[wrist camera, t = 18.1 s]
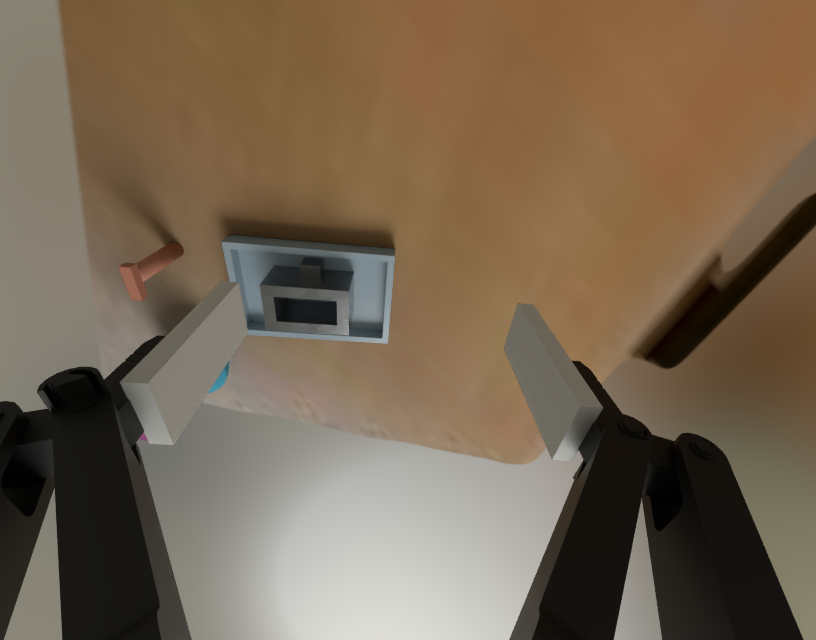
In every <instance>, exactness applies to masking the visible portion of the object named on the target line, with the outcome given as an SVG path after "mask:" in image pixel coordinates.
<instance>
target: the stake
mask: <svg viewBox="0 0 816 640" xmlns="http://www.w3.org/2000/svg"><path fill="white" fill-rule="evenodd" d="M183 253H184V250H183V248H182V247H181V245H179V244H178V243H175V242H172V243H170V244H168V245H166V246H165V247H163V248H161V249H160V250H158V251H156V252H155V253H153V254H151V255H150V256H148V257H146V258H145V259H143V260H141V261H140V262H138V263H136V264H135V263H124V264H122V265H120V266H119V269H120V272H121V275H122V277H123V280H124V282H125V285H126V287H127V290H128V293H129V295H130V298H131V300H140V301H142V300H144V299H145V298H146V297H148V294H147V291H146V289H145V286H144V283H143V282H144V281H146V280H147V279H148V278H150V277H151V276H153V275H154V274H156V273H157V272H159V271H160V270H161V269H163V268H164V267H166V266H167V265H169V264H170V263H171V262H173V261H174V260H176V259H177V258H179V257H180V256H182V255H183Z"/></svg>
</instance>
